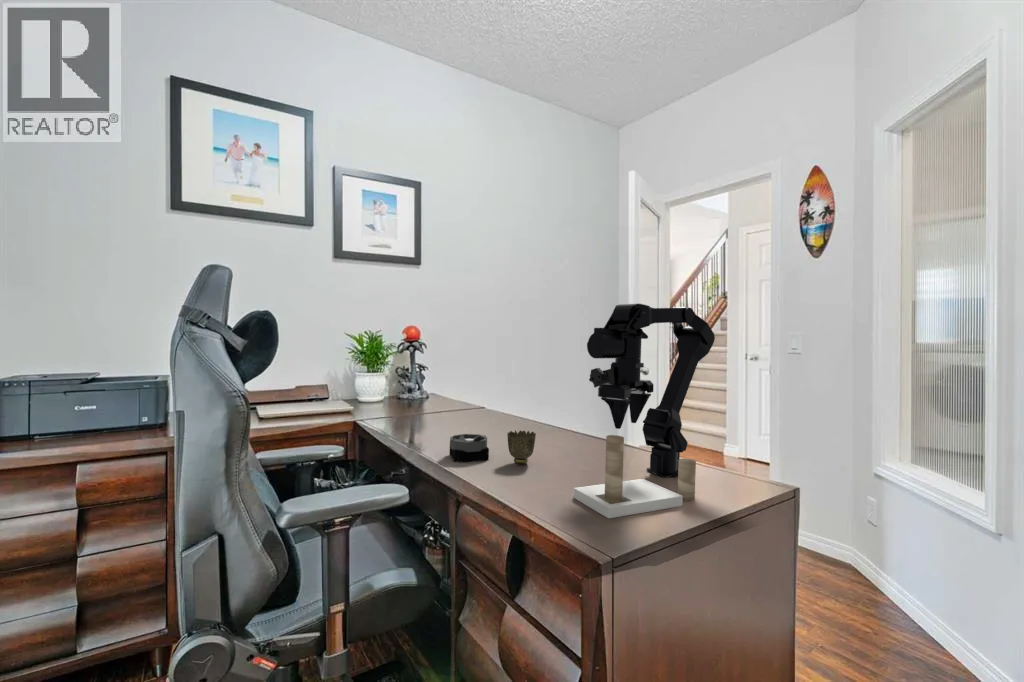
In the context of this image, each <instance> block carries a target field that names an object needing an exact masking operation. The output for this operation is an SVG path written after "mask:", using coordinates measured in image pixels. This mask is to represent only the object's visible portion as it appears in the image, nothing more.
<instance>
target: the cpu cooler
mask: <svg viewBox="0 0 1024 682" xmlns="http://www.w3.org/2000/svg"><path fill="white" fill-rule="evenodd" d="M449 438H450V439H449V456H450V458H452V460H453V462H454V463H473V462H474V463H475V462H477V463H478V462H486V461H489V460H490V459H489V455H490V454H489V453H490V449H489V447H488V436H487V435H484V434H480V433H478V434H477V433H473V434H472V433H463V434H454V435H452V436H449Z"/></svg>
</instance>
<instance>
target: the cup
mask: <svg viewBox="0 0 1024 682" xmlns="http://www.w3.org/2000/svg"><path fill="white" fill-rule="evenodd" d="M536 435H537V434H536V432H534V431H531V432H530V431H529V430H527V432H526V431H525V430H523V431H522V430H521V429H520V430H519V431H517V430H514V431H512V430H510V431H509V432H507V445H508V446H507V447H508V452H509V454H510V455H511V456H512V458H513V462H514V464H515V465H519V466H521V465H522V466H523V465H527V464H528V462H529V459H528V458H530V457H531V456H532V455H533V453H534V449H535V443H536Z"/></svg>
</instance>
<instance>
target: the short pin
mask: <svg viewBox="0 0 1024 682" xmlns="http://www.w3.org/2000/svg"><path fill="white" fill-rule="evenodd" d="M696 467H697V461H696V460H694V459H692V458H679V465H678V476H677V494H679V495H682V496H683V498H682V502H694V501H695V500H696V498H695V497H696V473H697V472H696V469H697V468H696Z"/></svg>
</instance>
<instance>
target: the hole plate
mask: <svg viewBox="0 0 1024 682" xmlns="http://www.w3.org/2000/svg"><path fill="white" fill-rule="evenodd" d="M604 498H605V483H602V484H601V483H600V484H594V485H587V486H580V487H573V499H575V500H577V501H579V502H580V503H582V504H584V505H585V506H587V507H589V508H590V509H592V510H594V511H595V512H597V513H599V514H601V515H602V516H603V517H605V518H607V519H613V518H619V517H625V516H630V515H636V514H642V513H647V512H648V513H649V512H655V511H659V510H660V511H661V510H667V509H672V508H679V507H683V500H682V498H683V496H682V495H679V494H678V492H674V491H672V490H670V489H668V488H665V487H663V486H661V485H658V484H656V483H654V482H652V481H649V480H646V479H644V478H638V479H631V480H623V490H622V503H615V504H609V503H607V502H605V501H604Z"/></svg>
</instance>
